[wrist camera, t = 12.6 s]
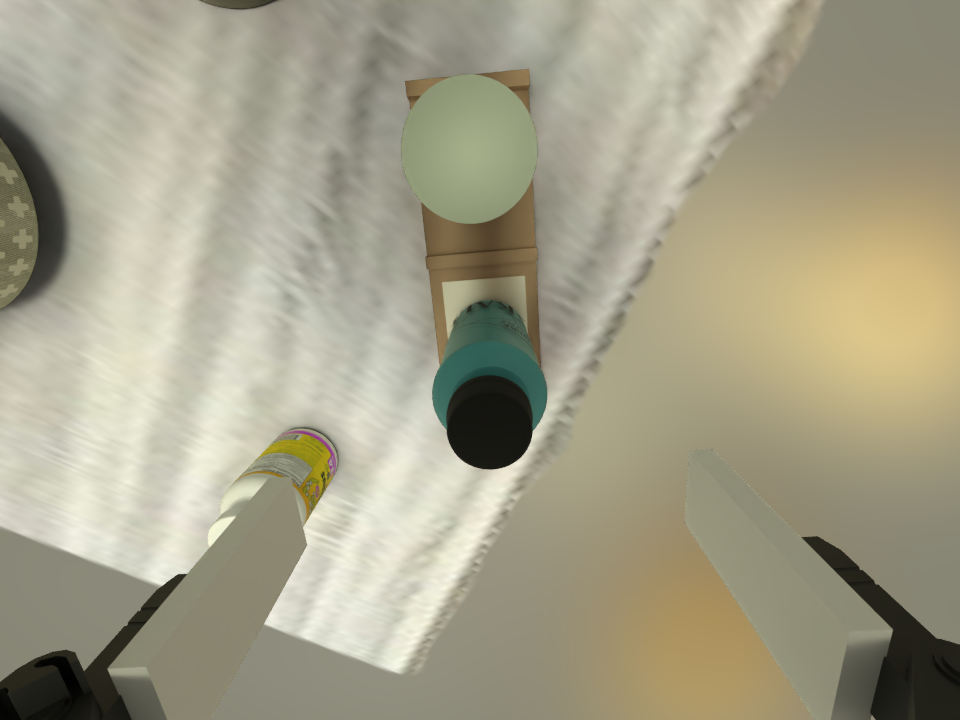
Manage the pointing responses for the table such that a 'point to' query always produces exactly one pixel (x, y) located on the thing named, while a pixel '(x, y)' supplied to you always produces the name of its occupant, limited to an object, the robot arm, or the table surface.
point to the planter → (15, 229)
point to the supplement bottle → (283, 475)
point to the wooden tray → (482, 247)
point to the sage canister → (469, 149)
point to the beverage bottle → (489, 386)
